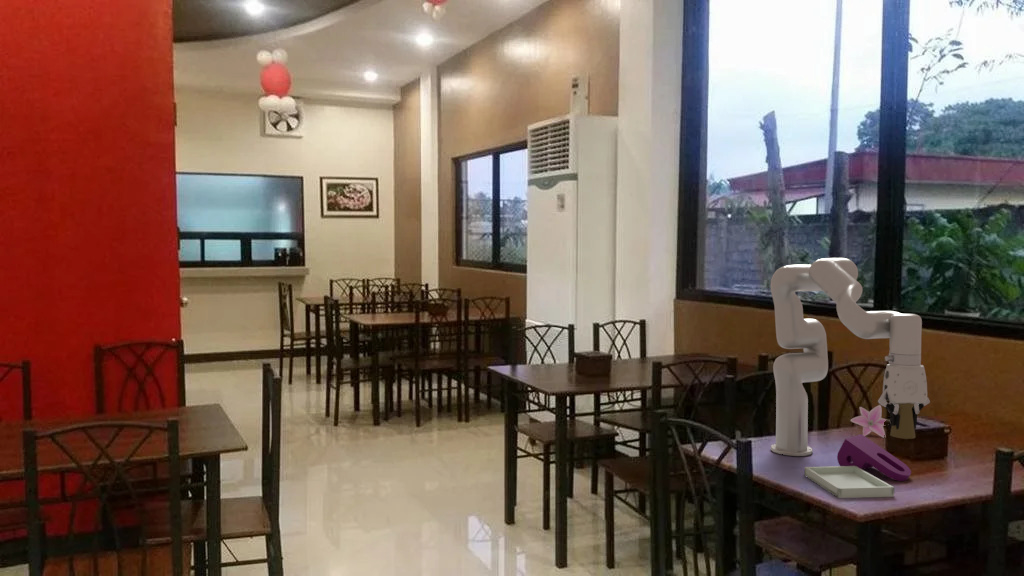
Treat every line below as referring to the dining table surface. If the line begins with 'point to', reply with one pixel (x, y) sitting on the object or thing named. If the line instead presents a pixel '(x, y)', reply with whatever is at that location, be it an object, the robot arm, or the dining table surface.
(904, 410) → the cork
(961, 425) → the dining table surface
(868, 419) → the lily
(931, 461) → the dining table surface
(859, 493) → the tray
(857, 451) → the mounting bracket
